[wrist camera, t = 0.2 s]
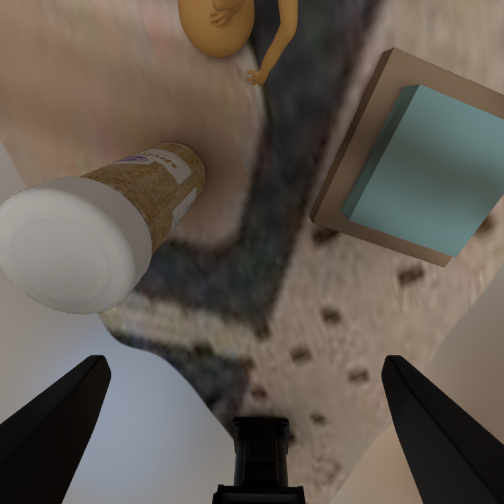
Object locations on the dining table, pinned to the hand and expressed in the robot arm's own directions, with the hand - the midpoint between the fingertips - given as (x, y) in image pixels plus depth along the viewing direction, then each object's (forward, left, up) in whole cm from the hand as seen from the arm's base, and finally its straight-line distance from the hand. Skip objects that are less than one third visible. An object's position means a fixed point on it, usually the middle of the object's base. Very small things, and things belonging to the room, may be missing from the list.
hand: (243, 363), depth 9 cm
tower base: (+3, -11, -15) cm, 19 cm away
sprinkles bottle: (+3, +6, -15) cm, 16 cm away
